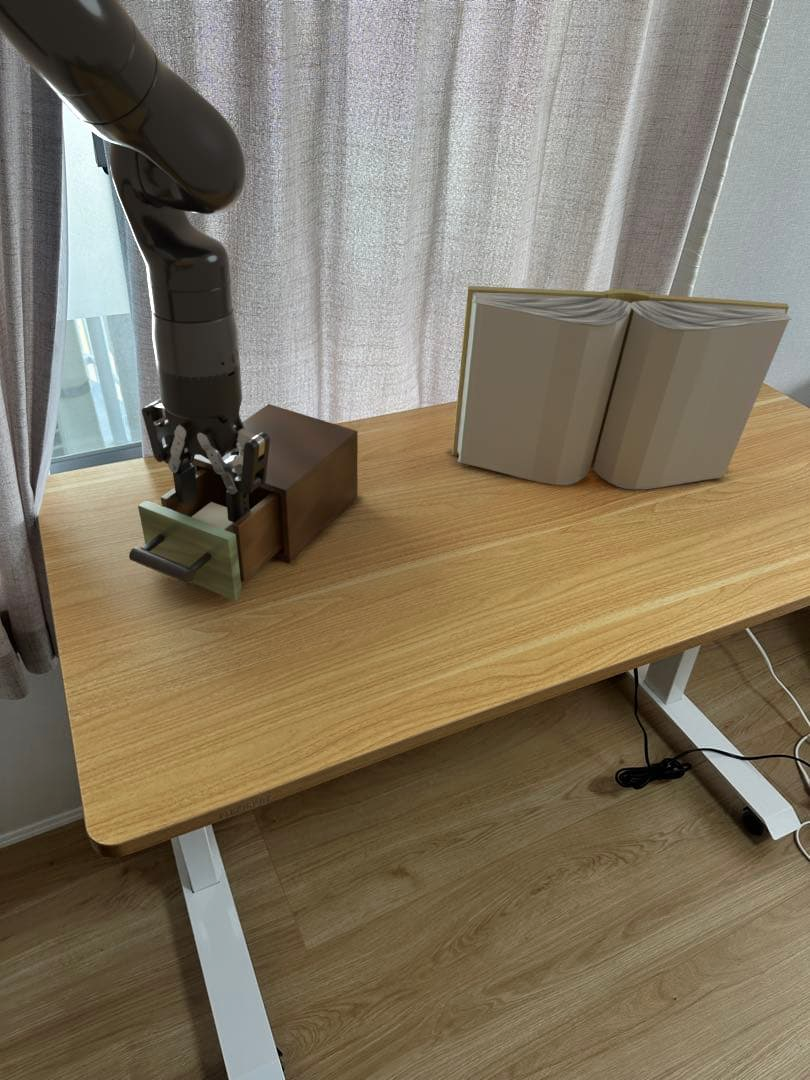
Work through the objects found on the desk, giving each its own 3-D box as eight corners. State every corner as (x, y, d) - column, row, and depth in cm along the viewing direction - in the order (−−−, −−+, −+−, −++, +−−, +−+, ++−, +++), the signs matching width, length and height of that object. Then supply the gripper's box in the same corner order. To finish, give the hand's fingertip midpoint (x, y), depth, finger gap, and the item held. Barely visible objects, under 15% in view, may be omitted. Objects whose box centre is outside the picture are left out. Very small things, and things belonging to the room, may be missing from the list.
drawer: (208, 625, 79) (199, 564, 75) (120, 587, 83) (106, 526, 79) (308, 533, 92) (305, 475, 87) (228, 503, 96) (221, 447, 91)
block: (222, 568, 85) (218, 534, 82) (189, 555, 86) (184, 521, 84) (247, 546, 88) (244, 513, 85) (215, 534, 89) (211, 501, 87)
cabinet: (290, 562, 89) (285, 490, 83) (199, 528, 93) (189, 457, 88) (357, 499, 99) (357, 430, 94) (273, 470, 104) (268, 403, 98)
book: (719, 462, 109) (785, 297, 92) (732, 500, 104) (805, 333, 87) (452, 447, 110) (467, 280, 93) (451, 485, 105) (467, 315, 87)
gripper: (108, 351, 73) (134, 505, 83) (236, 391, 68) (247, 549, 78) (164, 326, 79) (182, 473, 89) (286, 361, 74) (291, 512, 84)
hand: (213, 508), depth 84 cm, fingers open, 6 cm apart
